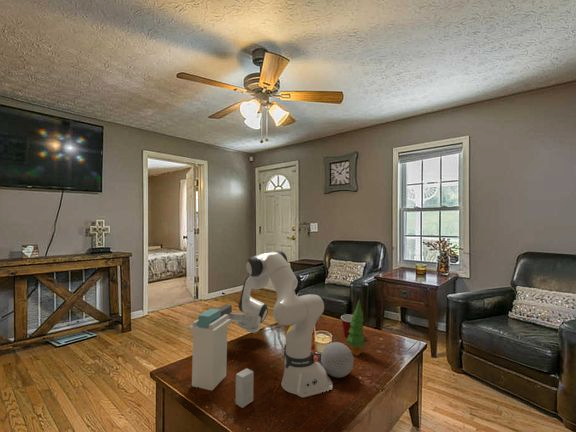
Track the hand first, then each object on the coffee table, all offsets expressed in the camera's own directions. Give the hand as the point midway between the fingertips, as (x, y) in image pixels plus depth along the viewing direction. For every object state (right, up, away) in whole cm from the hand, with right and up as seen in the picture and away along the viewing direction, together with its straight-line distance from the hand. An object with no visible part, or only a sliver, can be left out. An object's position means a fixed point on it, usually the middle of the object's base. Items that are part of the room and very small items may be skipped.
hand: (236, 315), depth 155 cm
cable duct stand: (-8, -21, -23) cm, 33 cm away
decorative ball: (+50, -23, -16) cm, 57 cm away
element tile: (+34, -23, +27) cm, 49 cm away
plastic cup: (+65, -23, +29) cm, 75 cm away
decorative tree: (+64, -23, +8) cm, 69 cm away
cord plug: (-6, +5, -20) cm, 21 cm away
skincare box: (+10, -22, -38) cm, 45 cm away
